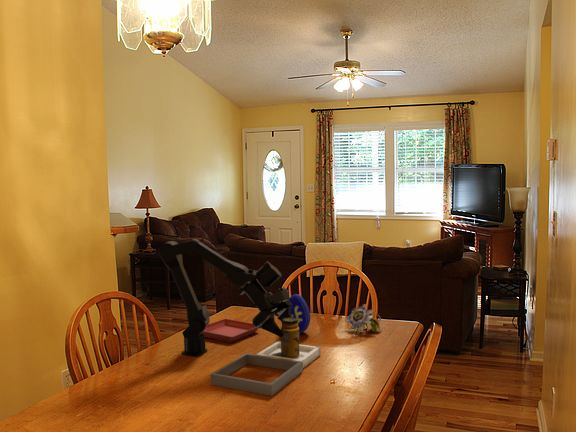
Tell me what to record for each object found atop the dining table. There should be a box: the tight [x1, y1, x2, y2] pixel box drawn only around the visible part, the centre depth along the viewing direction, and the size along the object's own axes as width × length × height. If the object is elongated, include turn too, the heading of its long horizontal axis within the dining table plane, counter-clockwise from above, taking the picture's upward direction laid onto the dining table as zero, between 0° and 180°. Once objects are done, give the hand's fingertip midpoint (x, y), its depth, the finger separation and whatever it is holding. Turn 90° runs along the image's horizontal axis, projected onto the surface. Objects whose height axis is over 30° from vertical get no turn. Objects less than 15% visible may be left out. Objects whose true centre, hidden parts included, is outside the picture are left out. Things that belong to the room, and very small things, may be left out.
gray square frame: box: [209, 352, 304, 397], centre depth 154 cm, size 20×20×3 cm
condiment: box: [271, 318, 305, 359], centre depth 170 cm, size 7×8×12 cm
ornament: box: [280, 293, 311, 334], centre depth 199 cm, size 11×9×15 cm
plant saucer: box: [202, 318, 261, 343], centre depth 199 cm, size 18×18×3 cm
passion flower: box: [344, 303, 382, 334], centre depth 202 cm, size 11×11×12 cm
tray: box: [255, 340, 321, 369], centre depth 171 cm, size 16×15×2 cm
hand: (289, 332), depth 170 cm, fingers open, 9 cm apart
